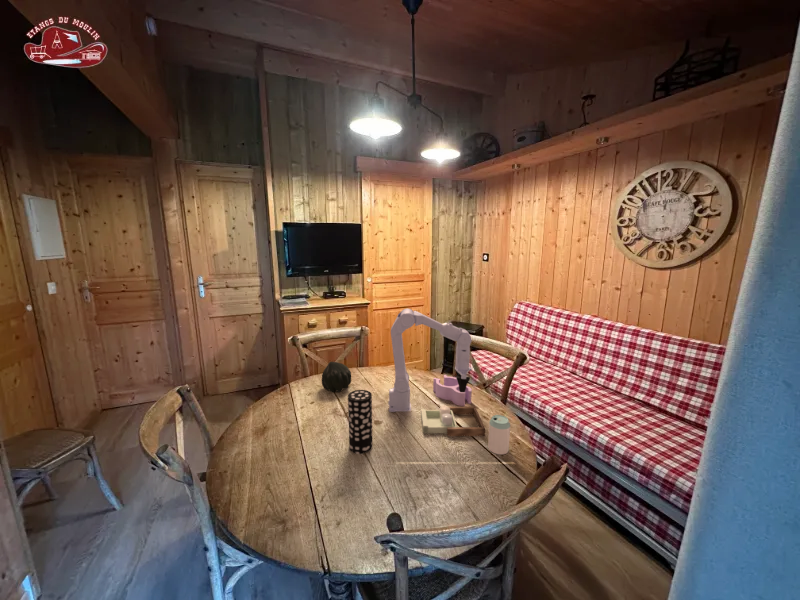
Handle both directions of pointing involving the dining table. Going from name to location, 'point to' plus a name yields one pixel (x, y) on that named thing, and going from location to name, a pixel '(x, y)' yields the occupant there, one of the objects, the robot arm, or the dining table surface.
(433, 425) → the tray
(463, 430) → the rack
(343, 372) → the squash
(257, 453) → the dining table surface
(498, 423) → the can
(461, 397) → the clip
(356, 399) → the spotted tube
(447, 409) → the pale pink cylinder
